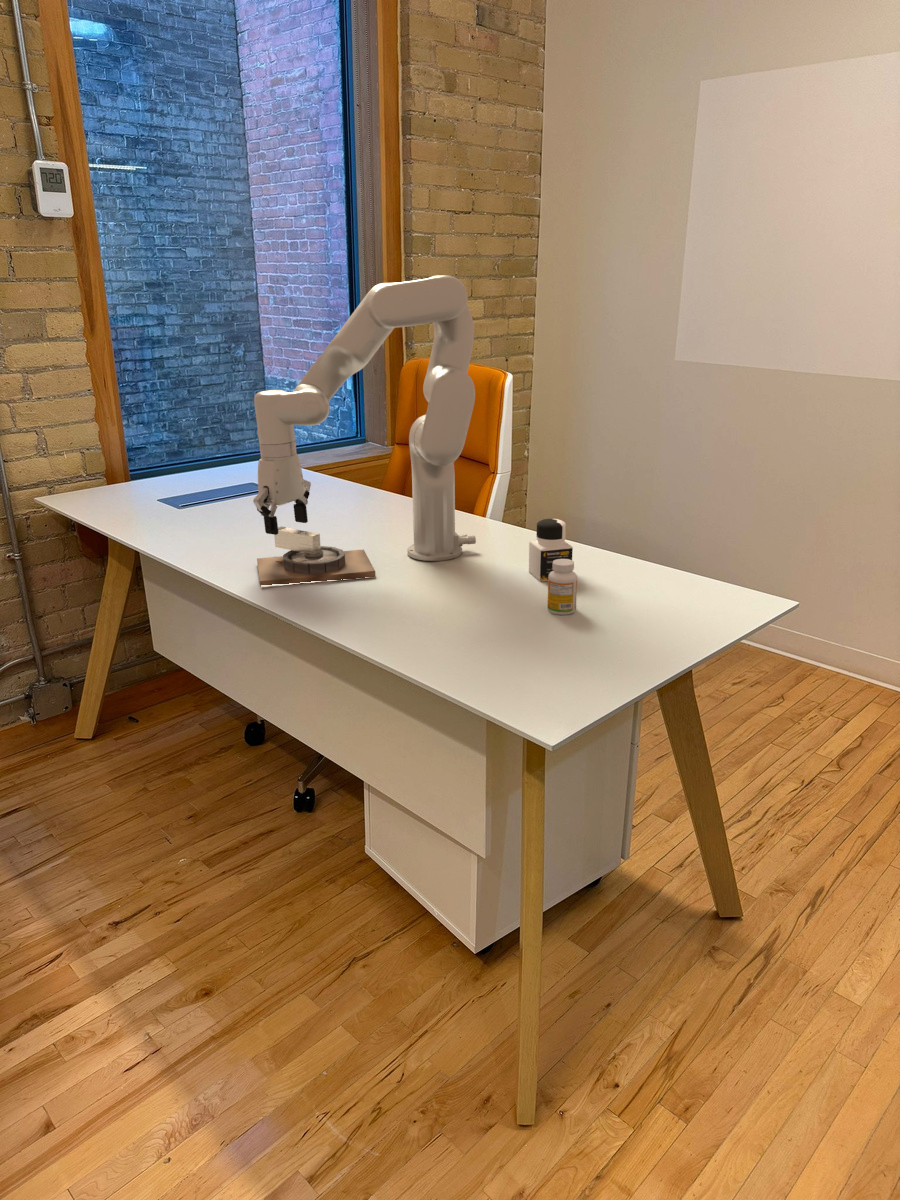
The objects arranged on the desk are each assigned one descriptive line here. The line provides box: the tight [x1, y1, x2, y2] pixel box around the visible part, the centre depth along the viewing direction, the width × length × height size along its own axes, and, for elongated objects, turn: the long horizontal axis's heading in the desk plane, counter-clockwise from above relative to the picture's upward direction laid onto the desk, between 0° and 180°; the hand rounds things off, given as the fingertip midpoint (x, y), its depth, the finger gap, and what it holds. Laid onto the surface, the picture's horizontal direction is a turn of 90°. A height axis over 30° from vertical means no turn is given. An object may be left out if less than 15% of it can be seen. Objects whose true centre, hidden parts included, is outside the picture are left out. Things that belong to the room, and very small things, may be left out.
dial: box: [273, 526, 337, 563], centre depth 187 cm, size 15×10×7 cm, turn 58°
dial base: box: [256, 545, 376, 585], centre depth 187 cm, size 24×16×4 cm
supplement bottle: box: [547, 559, 578, 616], centre depth 162 cm, size 5×5×10 cm
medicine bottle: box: [528, 518, 574, 583], centre depth 181 cm, size 7×7×12 cm
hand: (287, 527), depth 189 cm, fingers open, 9 cm apart
